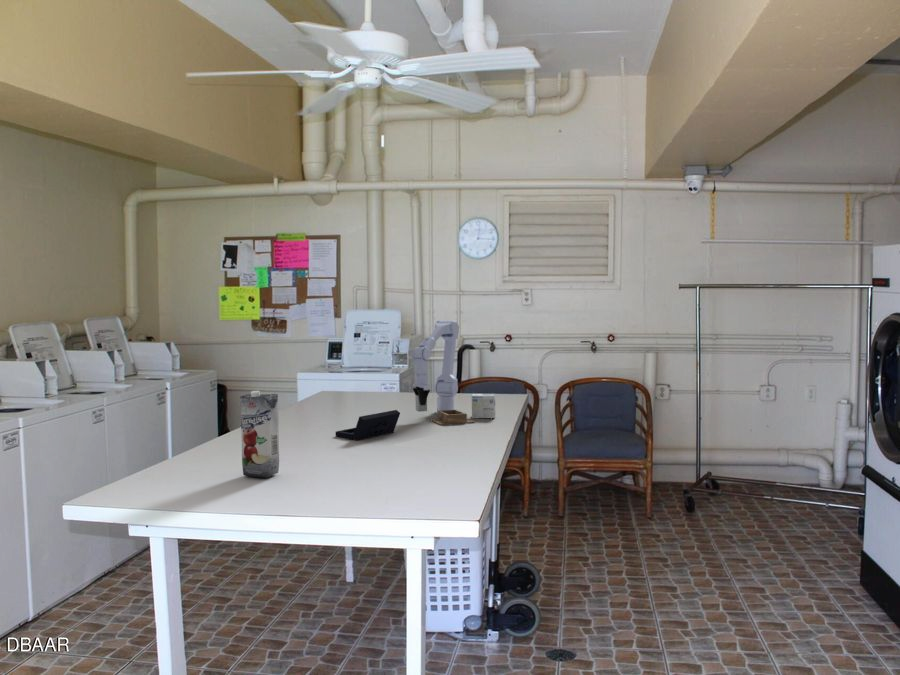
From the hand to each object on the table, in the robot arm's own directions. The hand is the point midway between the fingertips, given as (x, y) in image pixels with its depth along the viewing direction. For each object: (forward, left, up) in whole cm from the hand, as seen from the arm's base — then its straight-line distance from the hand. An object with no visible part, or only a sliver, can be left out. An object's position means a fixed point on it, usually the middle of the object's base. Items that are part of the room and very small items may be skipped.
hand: (421, 404), depth 327 cm
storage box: (+21, -30, -9) cm, 37 cm away
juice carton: (+71, -77, -8) cm, 105 cm away
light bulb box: (0, +30, -8) cm, 31 cm away
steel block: (0, 0, -3) cm, 3 cm away
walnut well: (+4, +13, -8) cm, 16 cm away
